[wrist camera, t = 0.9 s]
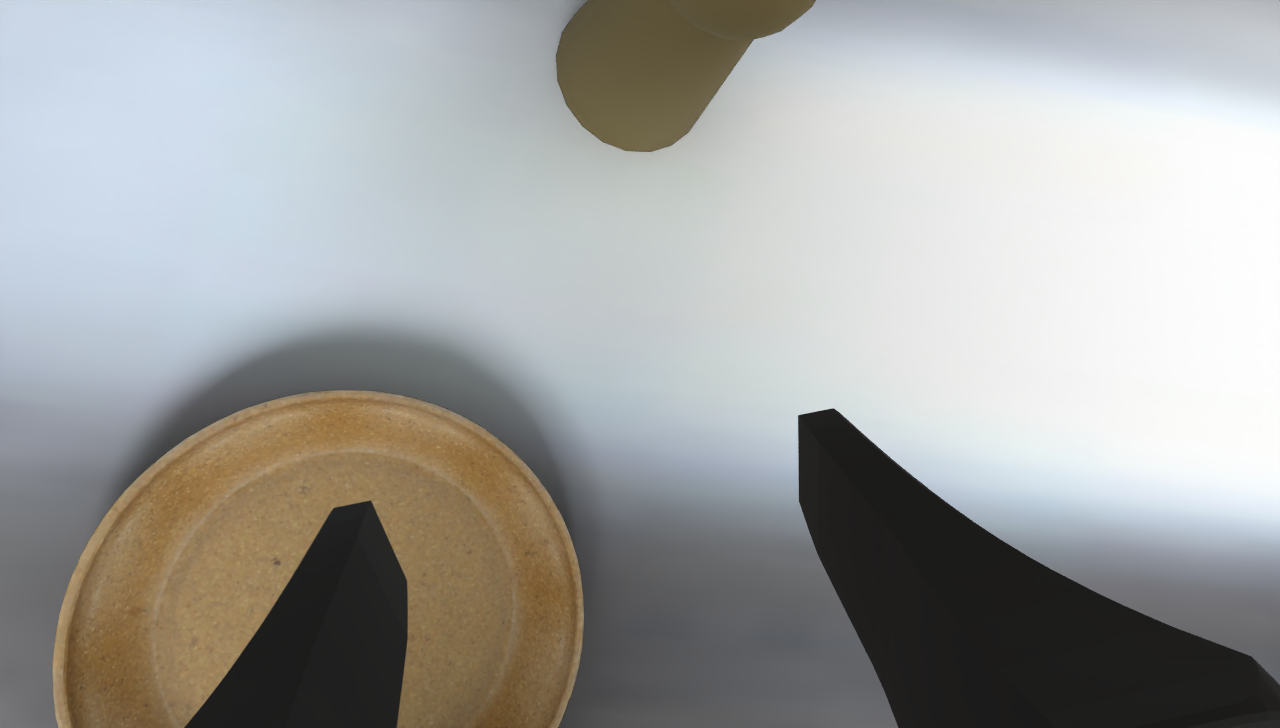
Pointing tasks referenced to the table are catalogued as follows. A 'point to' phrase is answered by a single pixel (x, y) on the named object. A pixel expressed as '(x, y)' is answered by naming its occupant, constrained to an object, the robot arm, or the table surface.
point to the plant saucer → (280, 537)
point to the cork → (657, 62)
